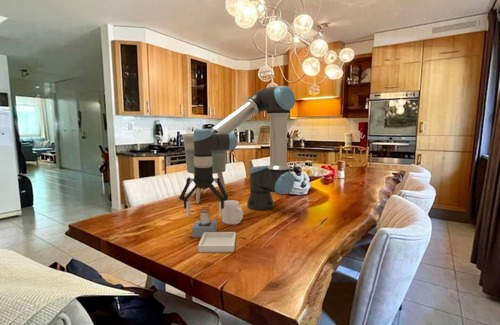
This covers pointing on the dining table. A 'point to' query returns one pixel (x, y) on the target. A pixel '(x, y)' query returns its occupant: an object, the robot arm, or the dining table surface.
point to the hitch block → (203, 228)
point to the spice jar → (204, 216)
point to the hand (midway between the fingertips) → (204, 215)
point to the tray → (217, 242)
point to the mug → (232, 212)
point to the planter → (217, 159)
